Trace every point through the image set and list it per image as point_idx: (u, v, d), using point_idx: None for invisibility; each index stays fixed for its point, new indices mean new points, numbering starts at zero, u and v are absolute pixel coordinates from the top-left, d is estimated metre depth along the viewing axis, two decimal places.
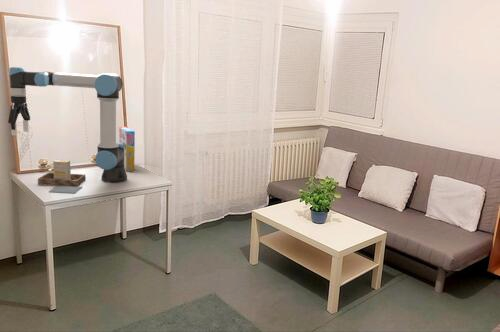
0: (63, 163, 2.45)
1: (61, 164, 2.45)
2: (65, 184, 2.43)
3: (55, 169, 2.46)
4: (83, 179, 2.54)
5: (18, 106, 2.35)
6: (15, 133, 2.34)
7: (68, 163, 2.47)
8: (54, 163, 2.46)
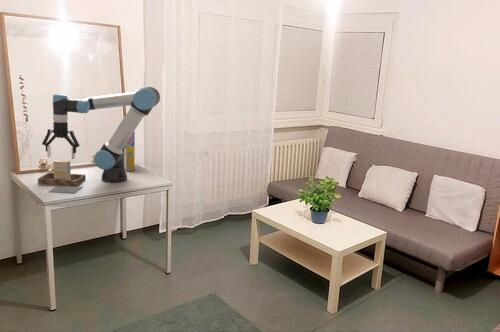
0: (63, 163, 2.45)
1: (61, 164, 2.45)
2: (65, 184, 2.43)
3: (55, 169, 2.46)
4: (83, 179, 2.54)
5: (54, 131, 2.42)
6: None
7: (68, 163, 2.47)
8: (54, 163, 2.46)
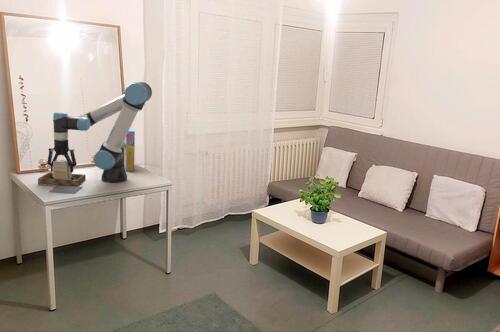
0: (63, 163, 2.45)
1: (61, 164, 2.45)
2: (65, 184, 2.43)
3: (55, 169, 2.46)
4: (83, 179, 2.54)
5: (55, 148, 2.44)
6: None
7: None
8: (54, 163, 2.46)
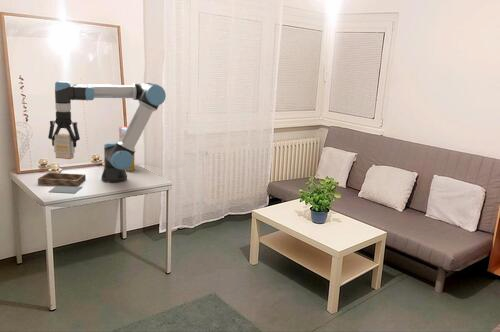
0: (65, 137, 2.28)
1: (63, 138, 2.28)
2: (65, 184, 2.43)
3: (57, 143, 2.29)
4: (83, 179, 2.54)
5: (57, 121, 2.27)
6: None
7: None
8: (56, 137, 2.28)
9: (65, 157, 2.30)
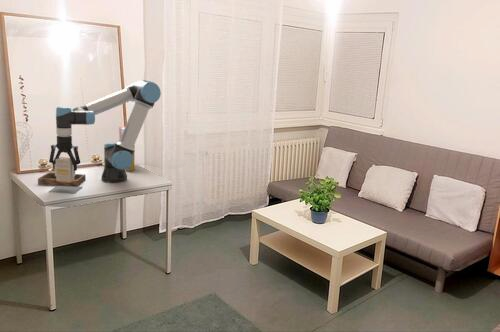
0: (66, 161, 2.31)
1: (64, 162, 2.31)
2: (65, 184, 2.43)
3: (57, 167, 2.32)
4: (83, 179, 2.54)
5: (58, 145, 2.30)
6: None
7: (71, 161, 2.33)
8: (56, 161, 2.31)
9: (66, 181, 2.33)
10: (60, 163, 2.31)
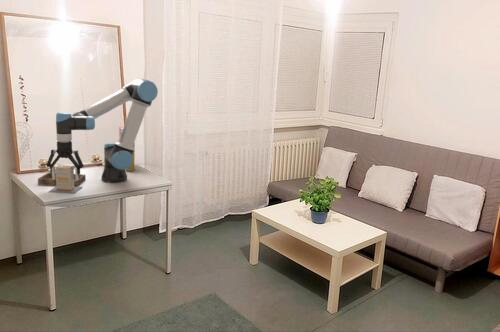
0: (66, 169, 2.32)
1: (64, 170, 2.32)
2: None
3: (58, 175, 2.33)
4: (83, 179, 2.54)
5: (58, 151, 2.31)
6: None
7: (71, 169, 2.34)
8: (57, 169, 2.32)
9: (66, 188, 2.34)
10: (60, 171, 2.32)
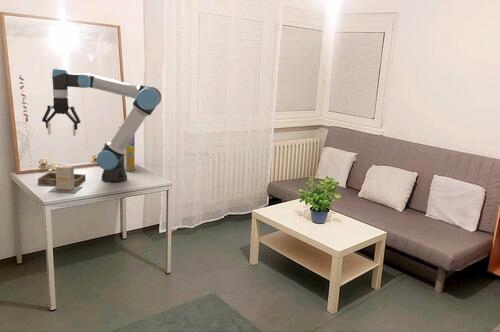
0: (66, 169, 2.32)
1: (64, 170, 2.32)
2: None
3: (58, 175, 2.33)
4: (83, 179, 2.54)
5: (55, 107, 2.37)
6: None
7: (71, 169, 2.34)
8: (57, 169, 2.32)
9: (66, 188, 2.34)
10: (60, 171, 2.32)
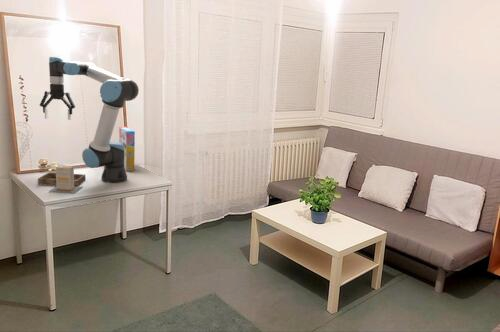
0: (66, 169, 2.32)
1: (64, 170, 2.32)
2: None
3: (58, 175, 2.33)
4: (83, 179, 2.54)
5: (51, 92, 2.53)
6: None
7: (71, 169, 2.34)
8: (57, 169, 2.32)
9: (66, 188, 2.34)
10: (60, 171, 2.32)
